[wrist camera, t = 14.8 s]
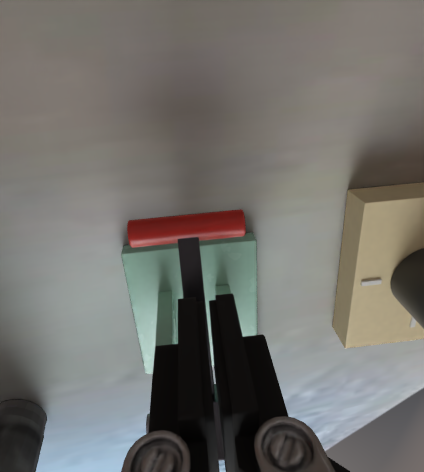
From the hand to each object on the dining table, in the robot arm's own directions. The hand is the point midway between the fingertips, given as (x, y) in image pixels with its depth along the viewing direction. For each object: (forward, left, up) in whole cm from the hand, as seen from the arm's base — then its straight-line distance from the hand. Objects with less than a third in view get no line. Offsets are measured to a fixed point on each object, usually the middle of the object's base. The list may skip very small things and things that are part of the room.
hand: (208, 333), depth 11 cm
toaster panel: (+7, +16, -14) cm, 22 cm away
